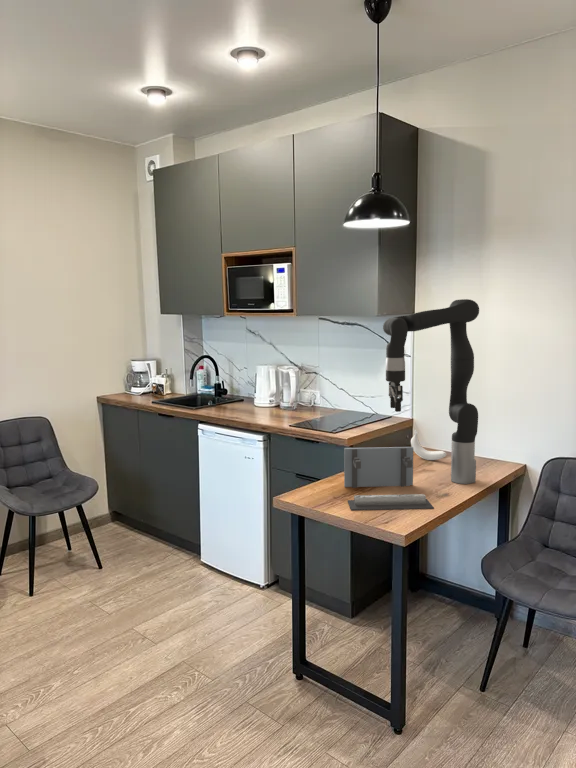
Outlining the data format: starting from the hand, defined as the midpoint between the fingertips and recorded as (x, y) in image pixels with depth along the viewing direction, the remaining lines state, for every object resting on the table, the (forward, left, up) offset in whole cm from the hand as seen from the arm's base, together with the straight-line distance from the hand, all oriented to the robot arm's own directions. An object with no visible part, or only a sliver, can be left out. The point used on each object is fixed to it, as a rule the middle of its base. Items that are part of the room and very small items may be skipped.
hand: (395, 409), depth 227 cm
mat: (+6, +19, -32) cm, 38 cm away
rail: (+6, +19, -32) cm, 38 cm away
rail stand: (+6, +1, -32) cm, 33 cm away
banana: (-25, -44, -33) cm, 60 cm away
